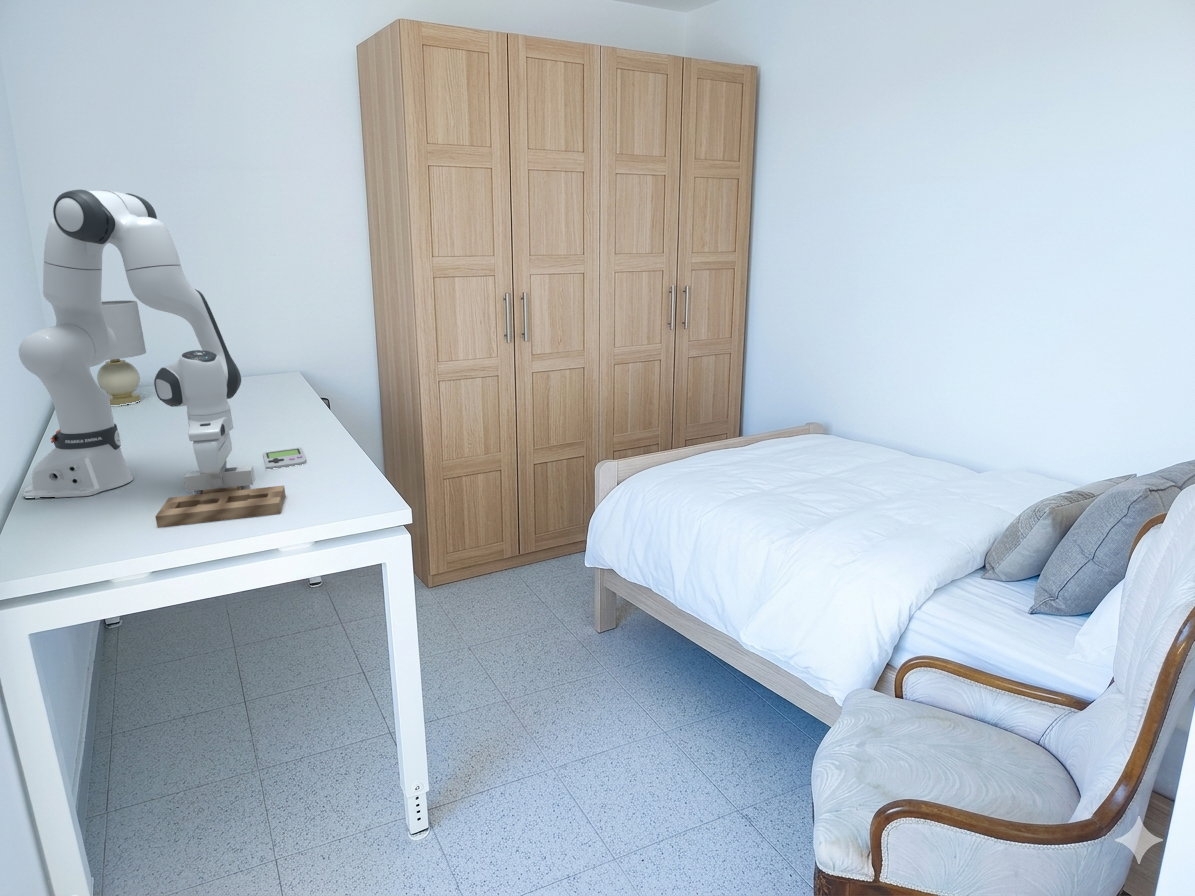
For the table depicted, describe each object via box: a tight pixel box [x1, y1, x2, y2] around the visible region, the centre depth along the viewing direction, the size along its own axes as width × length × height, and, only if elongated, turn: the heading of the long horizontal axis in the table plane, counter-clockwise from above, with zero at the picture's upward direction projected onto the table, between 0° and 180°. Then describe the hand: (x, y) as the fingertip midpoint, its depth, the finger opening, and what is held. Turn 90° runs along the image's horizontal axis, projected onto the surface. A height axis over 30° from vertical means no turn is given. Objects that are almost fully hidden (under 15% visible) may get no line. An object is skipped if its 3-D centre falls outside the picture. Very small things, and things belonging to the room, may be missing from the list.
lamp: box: [96, 299, 147, 405], centre depth 277 cm, size 20×20×35 cm
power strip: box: [183, 465, 256, 495], centre depth 181 cm, size 14×4×6 cm, turn 106°
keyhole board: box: [154, 485, 287, 528], centre depth 172 cm, size 24×12×2 cm, turn 106°
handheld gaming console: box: [262, 447, 307, 470], centre depth 209 cm, size 10×2×15 cm
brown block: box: [203, 486, 241, 494], centre depth 182 cm, size 7×6×2 cm
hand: (220, 481), depth 181 cm, fingers closed on power strip, 4 cm apart
